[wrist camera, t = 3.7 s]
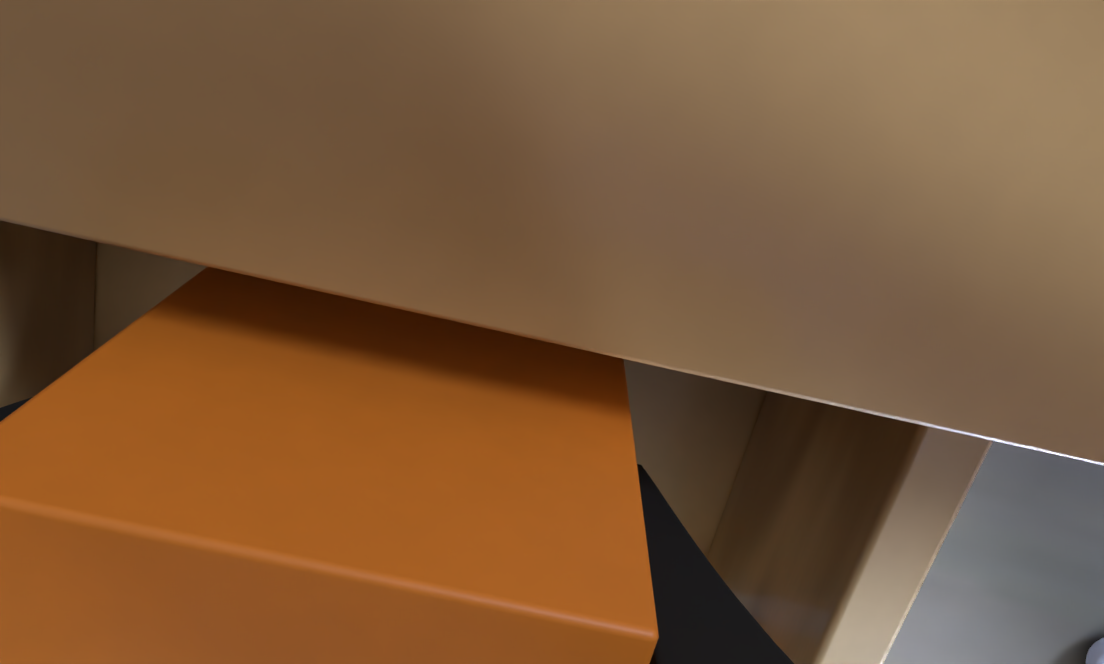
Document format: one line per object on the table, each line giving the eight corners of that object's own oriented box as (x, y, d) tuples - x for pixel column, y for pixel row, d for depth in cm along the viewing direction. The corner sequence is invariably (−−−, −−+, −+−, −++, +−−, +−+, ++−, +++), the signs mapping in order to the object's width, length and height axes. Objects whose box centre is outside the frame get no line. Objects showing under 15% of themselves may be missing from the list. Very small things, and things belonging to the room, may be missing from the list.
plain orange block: (536, 654, 11) (509, 1061, 7) (190, 585, 11) (-55, 965, 7) (624, 347, 10) (662, 637, 5) (218, 255, 9) (-91, 482, 5)
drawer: (666, 804, 18) (705, 1144, 13) (40, 687, 17) (-196, 999, 12) (986, 6, 12) (1316, 20, 7) (38, -239, 11) (-452, -446, 6)
